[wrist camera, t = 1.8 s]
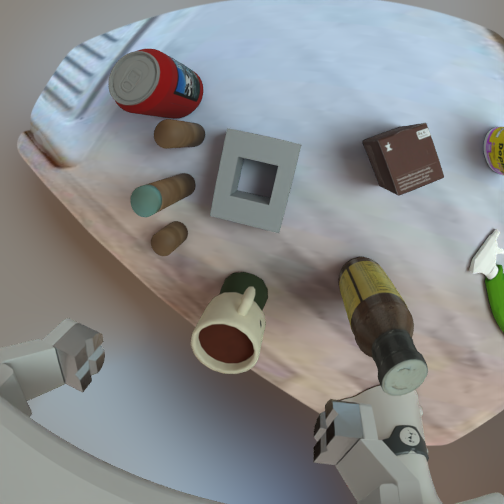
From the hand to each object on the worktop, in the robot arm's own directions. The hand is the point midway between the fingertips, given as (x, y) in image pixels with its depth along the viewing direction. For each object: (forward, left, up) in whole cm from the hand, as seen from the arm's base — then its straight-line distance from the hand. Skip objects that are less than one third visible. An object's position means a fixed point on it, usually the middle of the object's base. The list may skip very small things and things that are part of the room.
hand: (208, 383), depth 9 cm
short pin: (-7, +12, -29) cm, 32 cm away
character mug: (-12, +1, -29) cm, 32 cm away
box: (+10, -12, -29) cm, 33 cm away
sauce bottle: (-6, -13, -29) cm, 33 cm away
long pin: (0, +12, -29) cm, 32 cm away
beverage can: (+11, +15, -29) cm, 35 cm away
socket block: (+3, +3, -29) cm, 29 cm away
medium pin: (+6, +12, -29) cm, 32 cm away
